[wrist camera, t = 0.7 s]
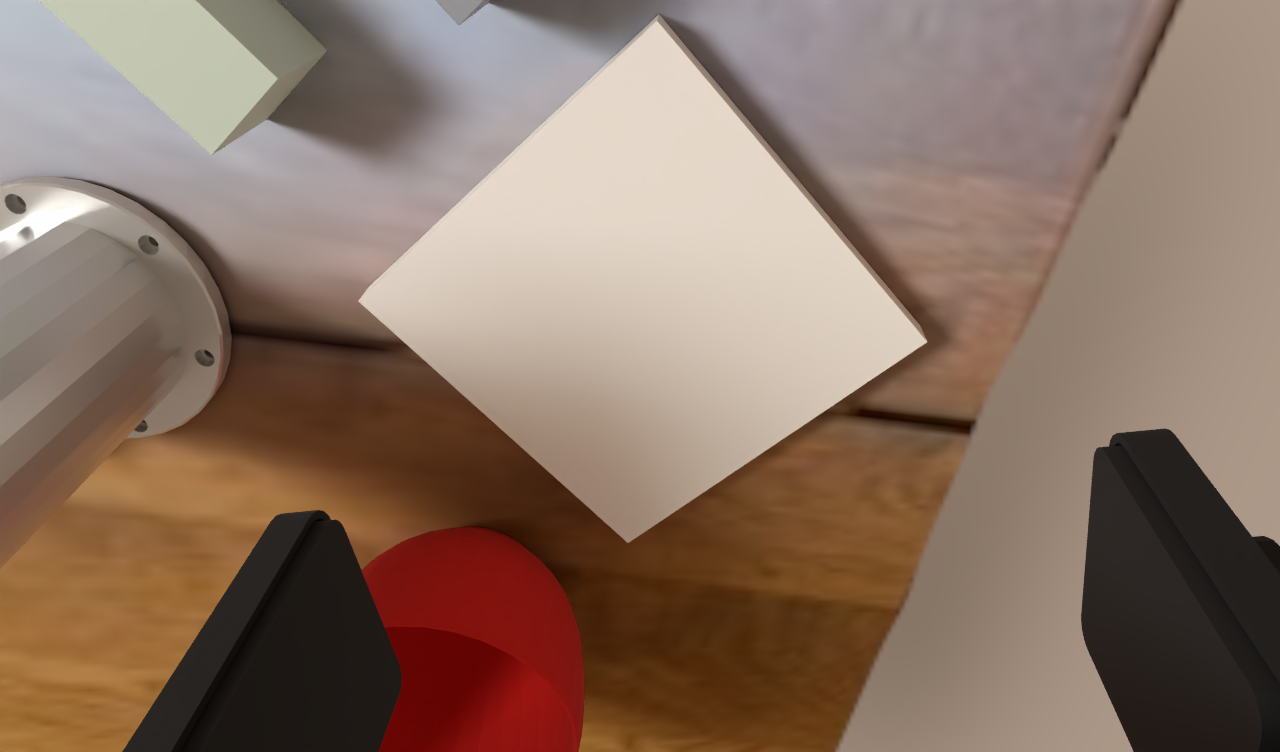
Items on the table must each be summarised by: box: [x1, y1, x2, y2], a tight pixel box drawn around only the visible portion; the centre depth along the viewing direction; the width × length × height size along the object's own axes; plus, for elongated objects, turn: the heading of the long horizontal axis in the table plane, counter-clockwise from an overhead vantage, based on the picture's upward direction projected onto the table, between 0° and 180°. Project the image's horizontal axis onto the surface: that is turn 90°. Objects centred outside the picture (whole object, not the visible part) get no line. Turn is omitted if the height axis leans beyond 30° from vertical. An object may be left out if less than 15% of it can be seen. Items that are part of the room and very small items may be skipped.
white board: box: [359, 14, 927, 543], centre depth 40 cm, size 17×17×2 cm
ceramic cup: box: [362, 527, 584, 752], centre depth 46 cm, size 13×17×10 cm
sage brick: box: [39, 0, 328, 155], centre depth 34 cm, size 8×4×5 cm, turn 42°
